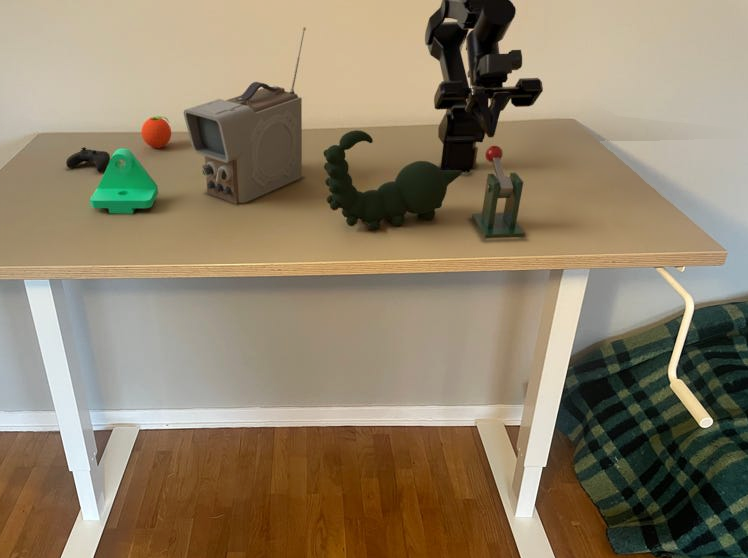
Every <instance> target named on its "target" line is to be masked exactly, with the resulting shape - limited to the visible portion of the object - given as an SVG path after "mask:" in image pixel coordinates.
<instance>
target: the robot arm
mask: <svg viewBox="0 0 748 558" xmlns="http://www.w3.org/2000/svg"><path fill="white" fill-rule="evenodd" d="M516 12H517V9H516V6H515V5H514V3H513V2H512V1H511V0H441V3H440V6H439V8H438V9H437V10H435V11H434V13H433V14H432V15H431V16H430V17H429V18H428V22H427V25H426V29H425V33H424V43H425V46H427V49H428V52H429V55H430V56H431V57H433V58H434V59H435V60H436V61H438V62H439V66H440V70H441V75H442V79H443V80H442V81H441V82H439V84H438V86H437V89H436V91H435V93H434V97H433V106H434V109H435V110H438V111H440V110H445V114H444V115H443V117H442V119H441V121H440V122H439V125H438V134H437V135H438V136H437V137H438V139H439V140H440V142H441V143H442V152H441V161H440V162H441V163H440V165H439V166H438V167H439V168H440V169H441V170H461V171H462V173H463V174H464V173H465V174H467V173H470V171H472V170H473V169H474V168H475V167H476V166H477V165H476V164H477V158H478V150H479V147H478V146H477V143H483V142H484V139H485V138H486V137H485V136H487V137H488V138H489V139H490V138H494V137H495V135H496V130H497V126H498V123H499V118H500V116H501V112H502V111H504V110H505V108H506V106H507V105H508V104H509V102H510V104H511V105H513V107H515V108H523V107H524V108H525V107H528V108H529V107H531V106H533V105H534V104H535V103H536V101H538V98H539V97H540V95H541V94H542V93H543V91H544V86H543V81H542V80H541V79H540V78H538V77H528V78H527V77H524V78H519V79H518V80H517V82H516V84H515V85H513V86H504V83H506V82H507V81H508V79H509V78H508V77H509V74H510V75H511V74H513V71H518V70H520V69H521V68H522V67H523V54H522V49H511V50H510V51H508V52H507V53H500V46H499V45H500V44H499V42H501V41H502V40H503V39H504V37H506V33H507V31H508V30H509V28H510V26H511V24H512V23H513V20H514V19H515V16H516V14H517V13H516ZM446 19H452V20H456V21H446ZM470 30H471V31H470ZM465 42H466V43H465ZM464 44H466V45H465V51H466V53H467V64H468V71H467V72H466V68H465V64H464V59H463V55H462V51H463V47H464ZM468 78H469V80H468ZM489 102H490V104H489Z"/></svg>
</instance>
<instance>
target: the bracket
mask: <svg viewBox="0 0 748 558" xmlns="http://www.w3.org/2000/svg"><path fill="white" fill-rule="evenodd" d="M509 177H510V178H511V181H512V185H513V191H512V194H511V196H510V198H505V203H504V208H503V212H497V207H498V200H499V198H498V195H499V189H500V182H499V180H498V179H497V177H496V174H494V173H487V178H486V185H485V191H484V196H483V204H482V210H481V213H472V215H471V218H472V220H473V221H474V223H475V224H476V226H477V228H478V229H479V231H480V233H481V234H482V236H483V237H484V239H502V238H504V239H505V238H506V239H507V238H524V237H525V232H524V230H523V229H522V228H521V226H520V225H519V223H518V222H517V220H518V215H519V209H520V203H521V199H522V193H523V186H524V181H523V180H522V179H521V177H520V176H519V175H518V174H517V173H516V172H510V173H509Z"/></svg>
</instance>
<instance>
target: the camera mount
mask: <svg viewBox="0 0 748 558" xmlns="http://www.w3.org/2000/svg"><path fill="white" fill-rule="evenodd" d="M121 161H123V162H124V163H122V162H121ZM158 187H159V186H158V184H157V183H156V182H155V181H154V179H153V178H152V177H151V175H150V174H149V173H148V171H147V170H146V169H145V167H144V166H143V165H142V163H141V162H140V160H139V159H138V158H137V157H136V155H135V154H134V152H132V151H131V150H129V149H128V148H125V147H123V148H121V147H120V148H118V149H116V150H115V151H114V153H113V154H112V156H110V161H109V164H107V166H106V168H105V170H104V173H103V174H102V177H101V179H100V181H99V183H98V185H97V187H96V189H95V191H94V192H93V194H92V195H91V197H90V198H89V202H90V207H91V208H93V209H108V213H109V214H134V212H135V210H136V209H149V208H152V207H153V205H154V203H155V201H156V198H157V196H158V194H159V188H158Z"/></svg>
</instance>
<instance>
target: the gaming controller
mask: <svg viewBox="0 0 748 558" xmlns="http://www.w3.org/2000/svg"><path fill="white" fill-rule="evenodd" d="M110 159H111V155H110V153H109V152H108V151H104V150H96V149H89V148H87V147H85V146H83V147H81V149H80V151H78V152H75V153H73V154H72V155H70V156H69V157H68V158H67V159H66V161H65V162H66V163H65V164H66V167H67V168H69V169H74V168H76V167H77V166H79V165H80V164H81V163H83V162H87V163H88V162H92V161H93V162H94V164H95V169H96V171H97V173H102V172H105V170H106V168H107V166H108V164H109V161H110Z"/></svg>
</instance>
